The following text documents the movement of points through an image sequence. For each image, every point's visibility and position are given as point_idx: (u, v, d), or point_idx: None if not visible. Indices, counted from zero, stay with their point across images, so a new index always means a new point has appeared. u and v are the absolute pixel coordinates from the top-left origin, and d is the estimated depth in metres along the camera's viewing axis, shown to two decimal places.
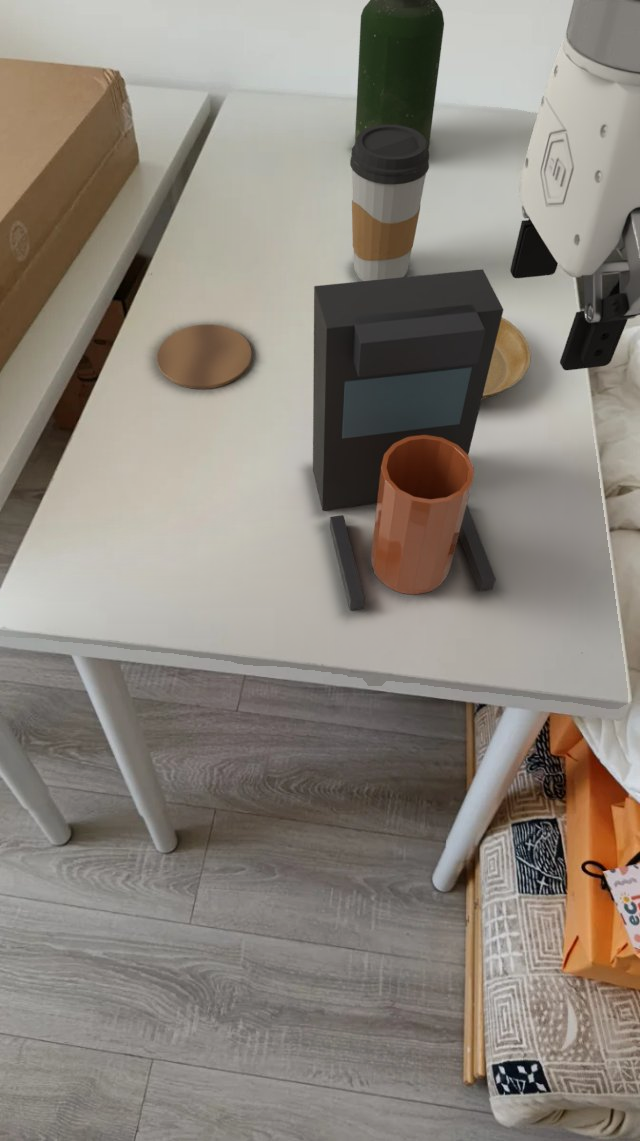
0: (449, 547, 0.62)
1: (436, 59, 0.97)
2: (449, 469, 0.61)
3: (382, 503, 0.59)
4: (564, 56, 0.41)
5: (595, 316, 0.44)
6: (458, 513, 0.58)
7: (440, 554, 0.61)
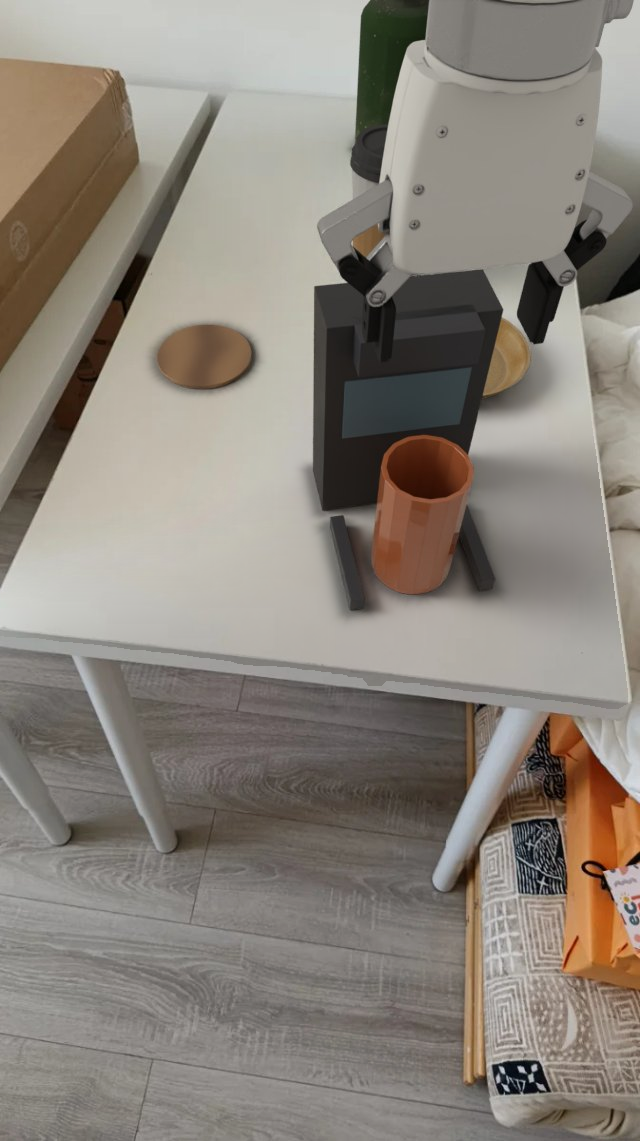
0: (449, 547, 0.62)
1: None
2: (449, 469, 0.61)
3: (382, 503, 0.59)
4: None
5: None
6: (458, 513, 0.58)
7: (440, 554, 0.61)
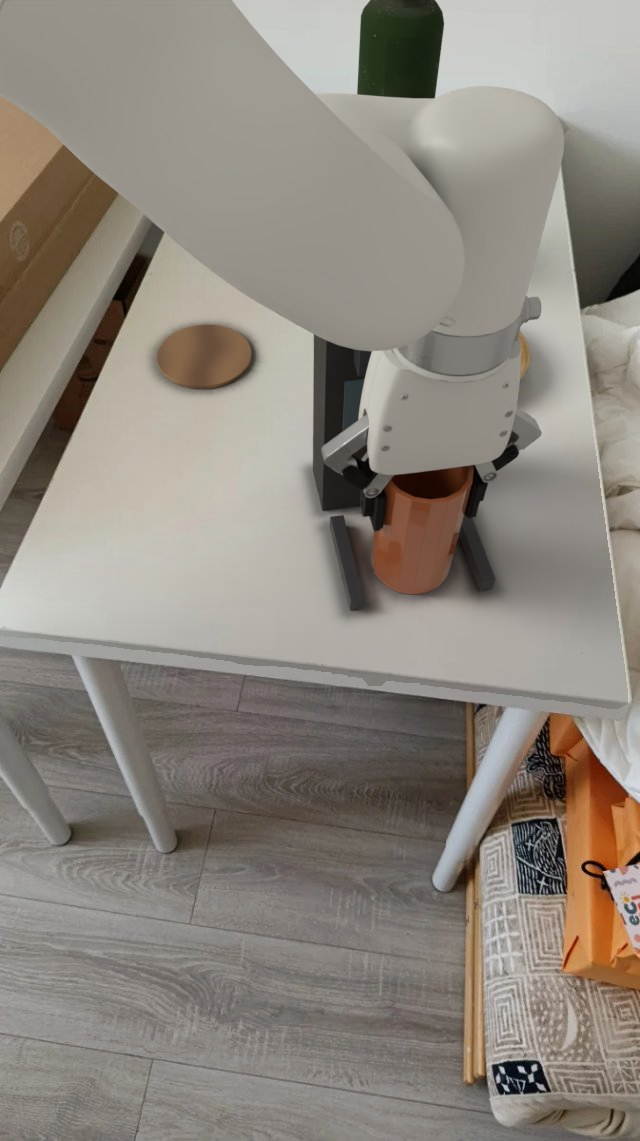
0: (449, 547, 0.62)
1: (436, 59, 0.97)
2: (449, 469, 0.61)
3: None
4: None
5: None
6: (458, 513, 0.58)
7: (440, 554, 0.61)
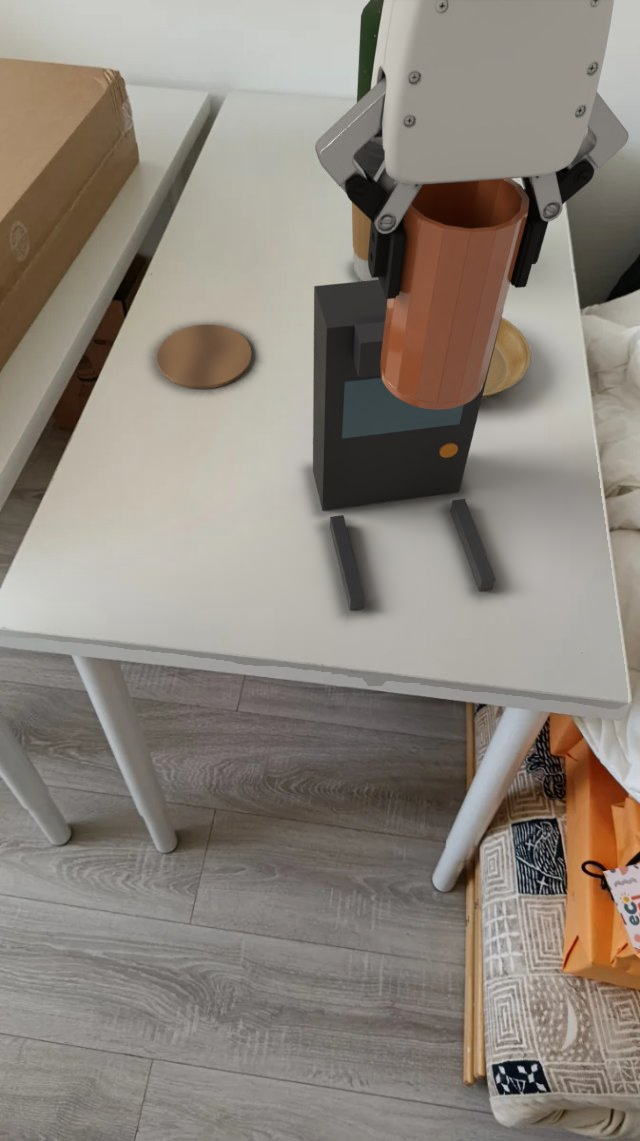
0: (489, 329, 0.45)
1: None
2: (490, 220, 0.44)
3: None
4: None
5: None
6: (506, 264, 0.42)
7: (476, 338, 0.45)
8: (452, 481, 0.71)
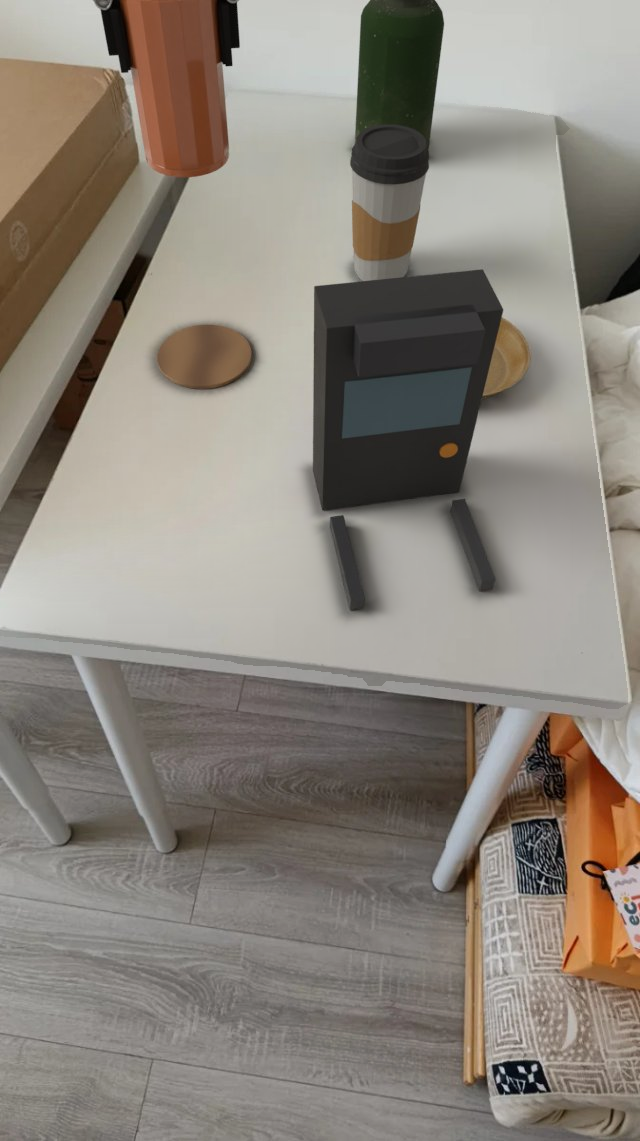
0: (206, 99, 0.58)
1: (436, 59, 0.97)
2: None
3: (125, 32, 0.56)
4: None
5: None
6: (201, 35, 0.55)
7: (196, 105, 0.58)
8: (452, 481, 0.71)
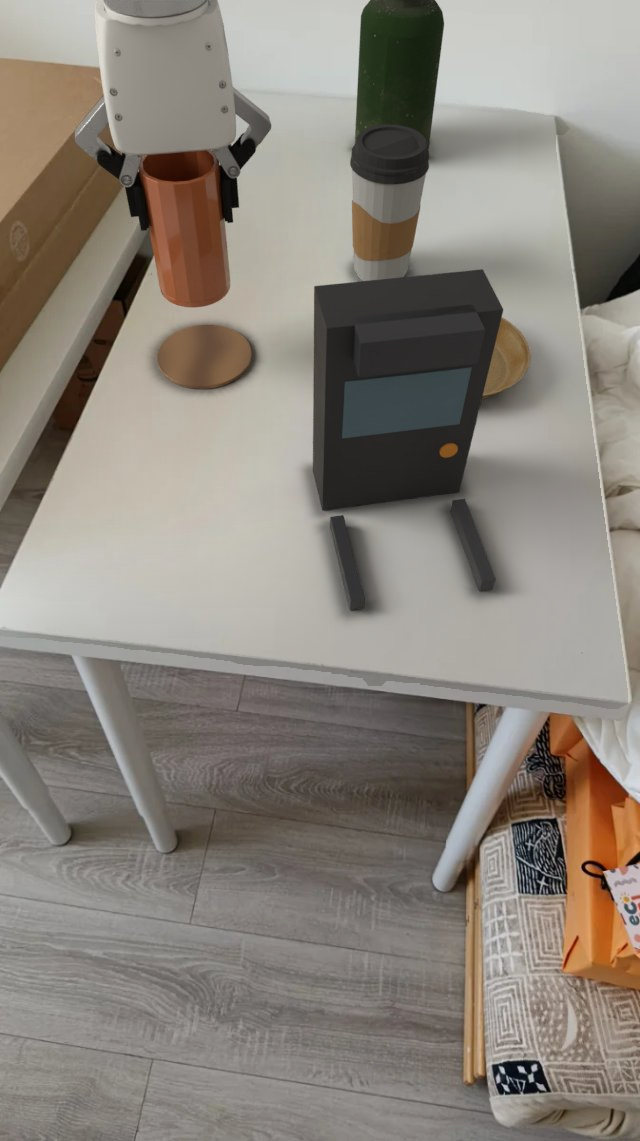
0: (211, 250, 0.70)
1: (436, 59, 0.97)
2: None
3: (144, 200, 0.67)
4: None
5: None
6: (207, 205, 0.66)
7: (203, 255, 0.70)
8: (452, 481, 0.71)
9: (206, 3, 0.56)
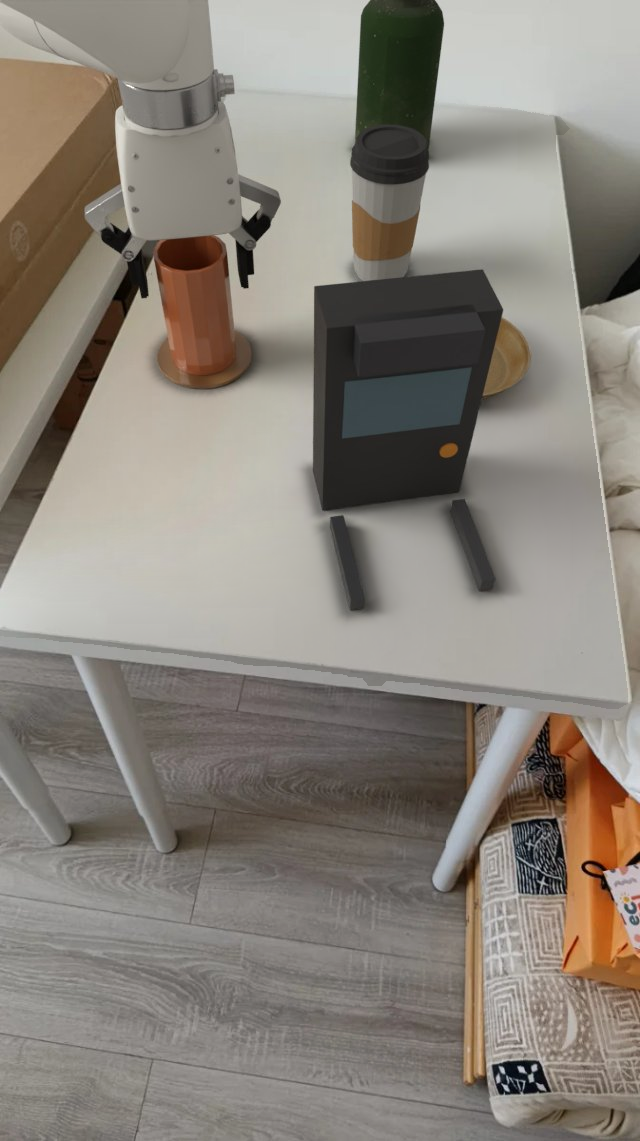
0: (219, 326, 0.76)
1: (436, 59, 0.97)
2: None
3: (158, 283, 0.74)
4: None
5: None
6: (216, 289, 0.73)
7: (211, 331, 0.76)
8: (452, 481, 0.71)
9: (216, 113, 0.62)
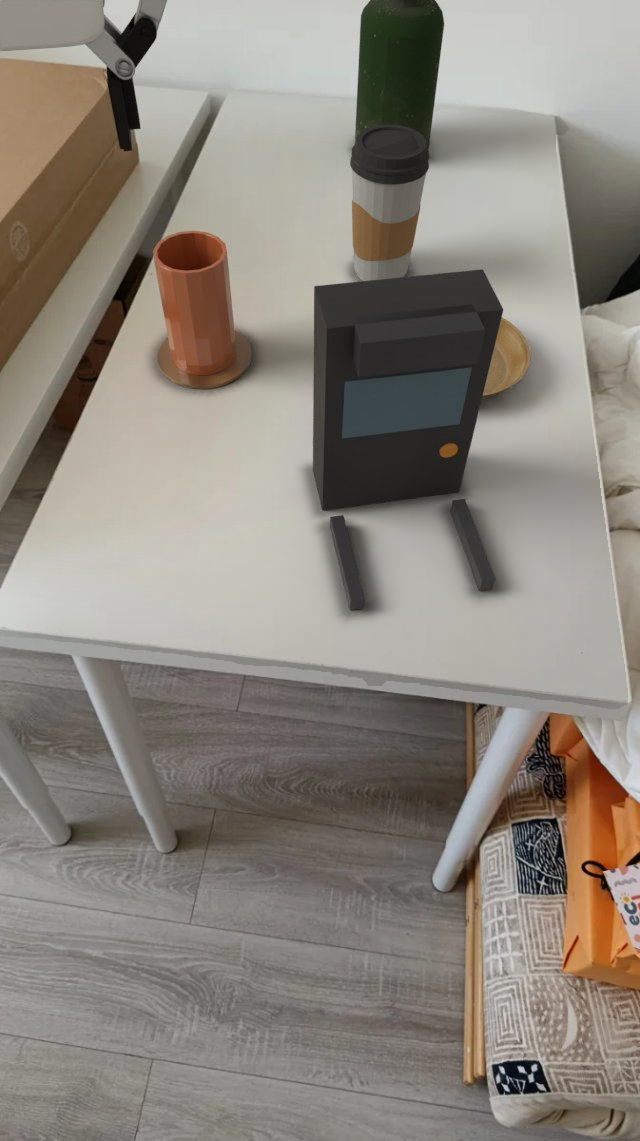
0: (219, 326, 0.76)
1: (436, 59, 0.97)
2: None
3: None
4: None
5: None
6: (216, 289, 0.73)
7: (211, 331, 0.76)
8: (452, 481, 0.71)
9: None
